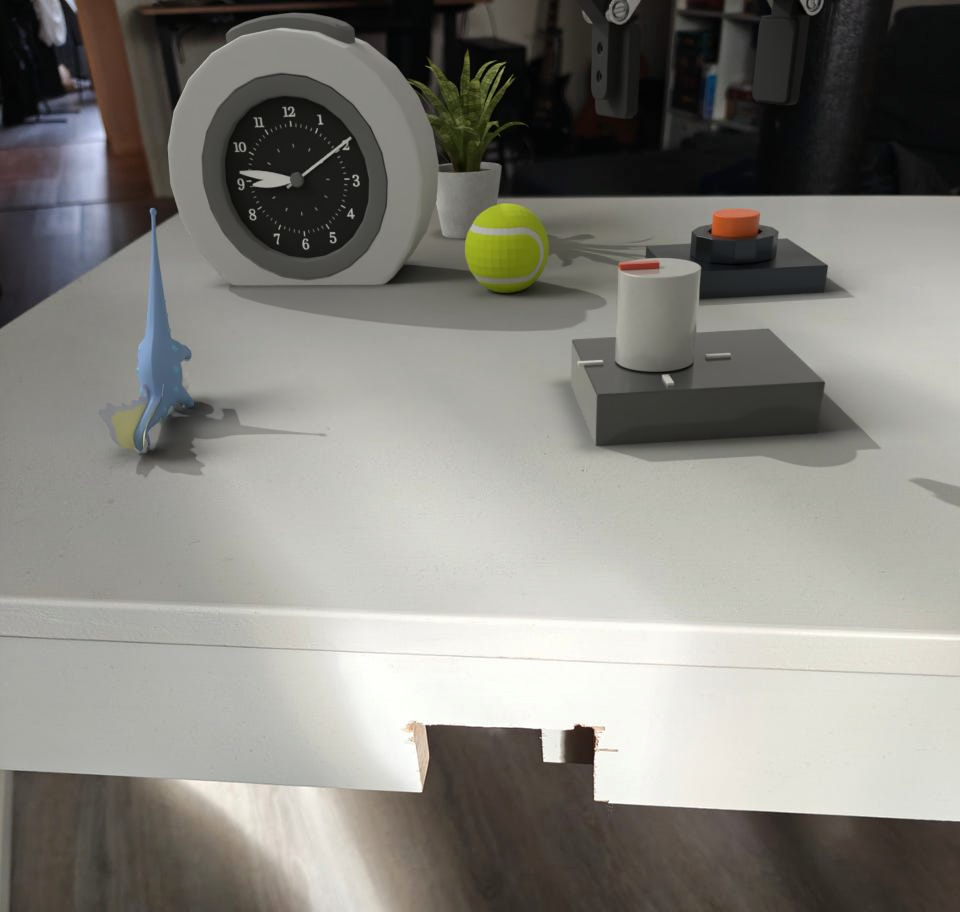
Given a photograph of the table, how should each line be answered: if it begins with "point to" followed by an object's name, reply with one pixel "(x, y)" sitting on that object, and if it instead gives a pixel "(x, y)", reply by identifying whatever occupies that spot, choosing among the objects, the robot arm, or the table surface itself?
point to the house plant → (465, 146)
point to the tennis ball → (506, 248)
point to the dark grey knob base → (698, 391)
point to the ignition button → (735, 222)
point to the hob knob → (657, 314)
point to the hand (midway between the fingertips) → (697, 109)
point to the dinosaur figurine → (152, 371)
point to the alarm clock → (302, 157)
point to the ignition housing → (747, 264)
